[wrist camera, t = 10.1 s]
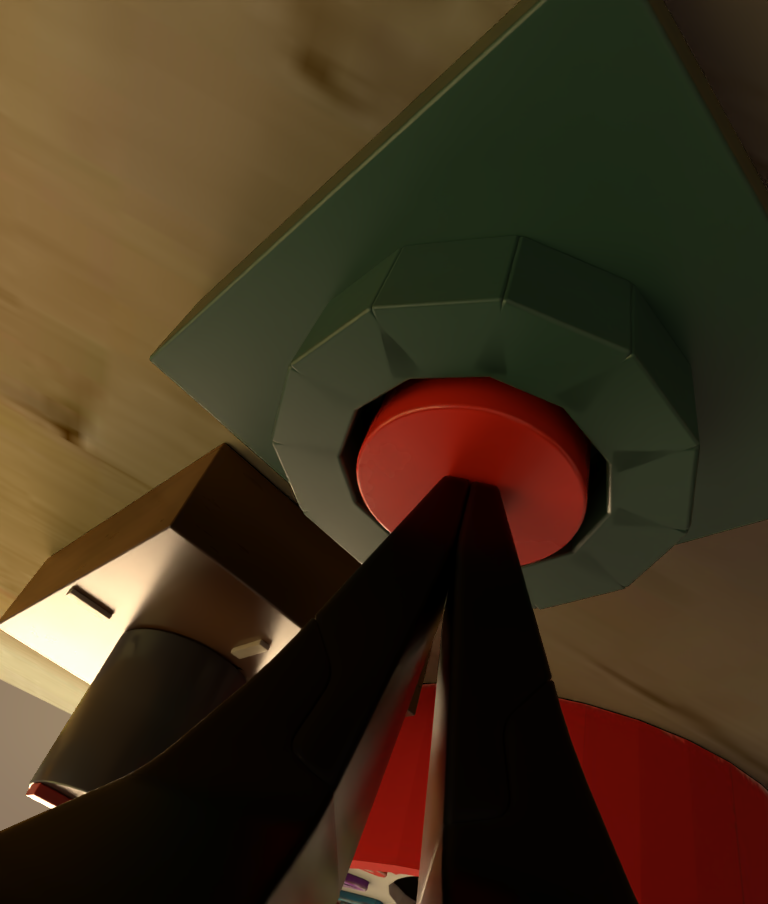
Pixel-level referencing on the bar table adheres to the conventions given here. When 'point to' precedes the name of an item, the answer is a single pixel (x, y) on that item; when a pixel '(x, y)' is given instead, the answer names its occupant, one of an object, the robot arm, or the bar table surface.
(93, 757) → the pointer knob
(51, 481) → the bar table surface
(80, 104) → the bar table surface
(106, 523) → the dial panel
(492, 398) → the red push button
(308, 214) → the button box
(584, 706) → the toy clock
